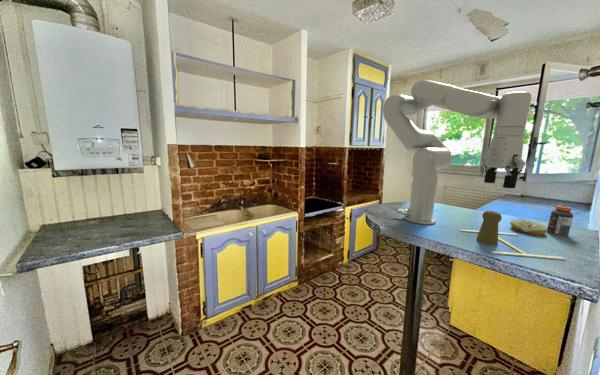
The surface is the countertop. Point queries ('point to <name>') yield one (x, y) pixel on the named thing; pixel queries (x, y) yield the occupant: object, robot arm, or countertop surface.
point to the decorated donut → (528, 227)
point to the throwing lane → (516, 248)
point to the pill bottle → (560, 221)
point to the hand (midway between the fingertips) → (498, 185)
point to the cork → (489, 228)
